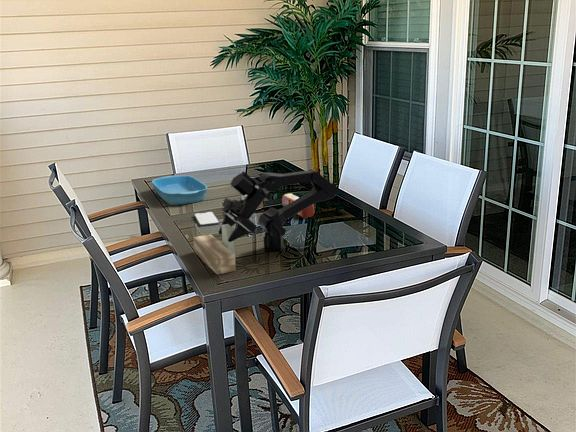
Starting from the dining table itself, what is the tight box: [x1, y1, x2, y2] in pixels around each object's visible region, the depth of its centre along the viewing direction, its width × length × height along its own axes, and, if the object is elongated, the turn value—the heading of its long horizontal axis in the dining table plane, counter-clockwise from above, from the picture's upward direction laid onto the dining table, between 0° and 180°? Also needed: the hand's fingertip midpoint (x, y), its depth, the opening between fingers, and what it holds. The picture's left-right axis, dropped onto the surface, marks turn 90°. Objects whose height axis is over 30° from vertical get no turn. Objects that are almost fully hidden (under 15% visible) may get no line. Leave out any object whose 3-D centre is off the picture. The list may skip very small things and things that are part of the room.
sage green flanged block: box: [221, 224, 236, 255], centre depth 204 cm, size 8×6×12 cm
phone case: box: [193, 211, 221, 228], centre depth 249 cm, size 9×2×16 cm
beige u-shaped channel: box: [192, 233, 237, 275], centre depth 204 cm, size 7×24×6 cm, turn 27°
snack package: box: [281, 193, 315, 219], centre depth 258 cm, size 21×7×7 cm, turn 25°
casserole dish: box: [151, 174, 208, 206], centre depth 285 cm, size 37×22×7 cm, turn 27°
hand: (224, 237), depth 204 cm, fingers open, 9 cm apart
